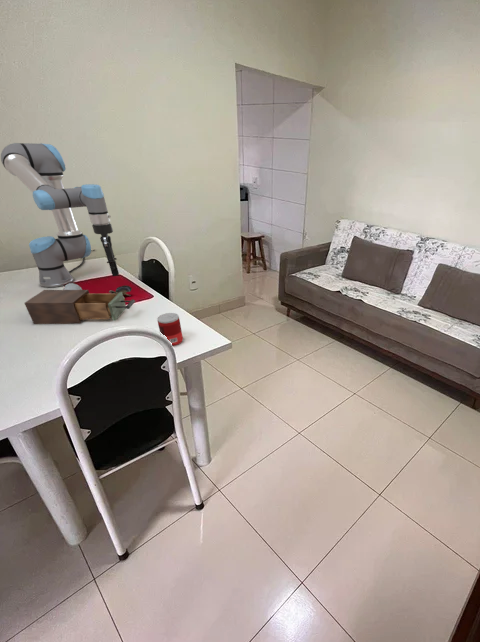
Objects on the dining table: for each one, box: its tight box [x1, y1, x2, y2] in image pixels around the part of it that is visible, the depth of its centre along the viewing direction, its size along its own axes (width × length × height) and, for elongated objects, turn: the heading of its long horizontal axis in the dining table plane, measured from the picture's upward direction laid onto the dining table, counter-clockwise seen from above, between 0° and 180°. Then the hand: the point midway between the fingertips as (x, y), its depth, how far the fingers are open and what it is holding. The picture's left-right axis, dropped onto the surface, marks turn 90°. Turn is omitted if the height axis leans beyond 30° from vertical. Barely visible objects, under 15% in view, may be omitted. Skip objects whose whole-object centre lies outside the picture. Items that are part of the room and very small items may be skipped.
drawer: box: [74, 292, 136, 322], centre depth 144 cm, size 24×13×8 cm, turn 95°
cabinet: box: [24, 289, 91, 325], centre depth 143 cm, size 19×14×10 cm
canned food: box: [156, 312, 184, 347], centre depth 127 cm, size 8×8×11 cm
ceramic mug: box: [62, 282, 83, 290], centre depth 158 cm, size 11×8×8 cm
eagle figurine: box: [108, 285, 133, 301], centre depth 162 cm, size 8×7×9 cm
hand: (115, 274), depth 157 cm, fingers open, 2 cm apart
